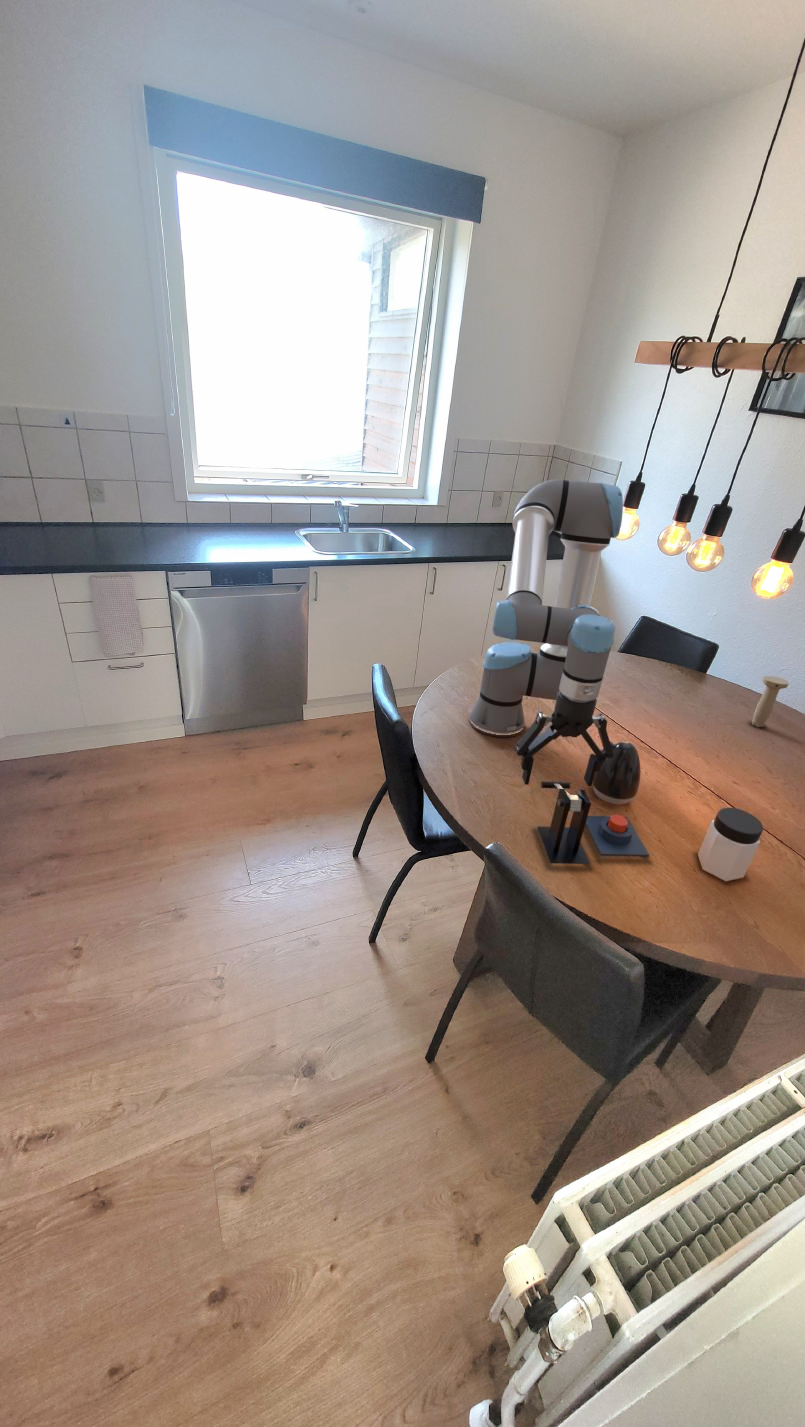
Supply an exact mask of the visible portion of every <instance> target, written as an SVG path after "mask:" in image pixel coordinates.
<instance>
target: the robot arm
mask: <svg viewBox="0 0 805 1427" xmlns="http://www.w3.org/2000/svg"><path fill="white" fill-rule="evenodd" d="M623 510H624V498H623V492H622V490H621V488H620V487H619V486H617V485H614V484H608V483H603V482H591V481H589V482H588V481H579V480H568V479H560V478H555V479H549V480H545V481H543V482H541V483H539V484H537V485H535V486H534V487H532V488H531V489H530V490H528V491H527V492H526V493H525V495H524V496H523V497H522V498H521V499H520V500H519V502H518V503H517V505H516V507H515V510H514V512H513V516H512V529H513V532H514V540H513V549H512V554H511V562H510V569H509V576H508V582H507V589H506V590H507V591H506V596H505V600H501V599H500V600H497V602H496V606H495V611H494V617H493V624H492V634H493V635H494V636H495V637H499V638H501V639H502V638H504V639H508V640H511V641H506V642H500V643H497V644H494V645H492V646H490V647H489V648H488V649H487V651H486V653H485V658H484V661H483V665H482V666H483V672H482V677H481V683H480V685H481V686H480V689H479V690H480V691H479V696H478V697H477V700H476V701H475V704H474V705H473V707H472V709H471V711H470V714H469V720H468V721H469V724H470V726H471V727H472V728H473V729H474V730H476V731H477V732H478V733H480V734H483V735H485V736H489V737H494V738H512V737H513V738H514V737H516V736H519V735H520V734H522V733H523V731H524V728H525V715H524V708H523V698H524V697H530V698H537V699H542V700H551V701H555V704H554V709H553V712H552V713H551V715H550V714H544V712H543V711H538V712H537V713H536V717H535V719H534V721H533V722H532V724H531V725H530V726H529V727H528V729H527V730H526V731H525V733H524V734H523V735H522V736H521V738H519V741H517V743H516V744H515V746H514V749H515V752H516V754H517V756H519V757H521V759H520V767H521V770H522V778H521V779H522V780H523V783H524V785H525V786H528V785H529V784H530V780H531V775H532V772H533V767H534V765H533V764H534V762H535V760H534V759H535V758H534V755H535V754H537V753H538V752H539V751H541V750H542V749H543V748H544V747H545V746H547V745H548V744H549V743H550V742H552V741H553V740H557V739H558V738H559V737H562V738H568V737H569V738H570V737H571V738H578V737H580V736H581V737H582V738H583V739H584V741H585V742H586V744H587V745H588V746H589V748H590V749H591V751H592V752H593V753H590V755H589V758H588V762H587V765H586V769H585V773H584V777H583V780H584V782H585V784H586V785H587V787H593V783H592V782H593V778H594V775H595V772H598V771H599V770H600V767H601V764H602V763H603V762H605V761H606V759H605V758H607V757H608V758H612V757H613V751H612V748H611V744H610V741H611V740H610V738H609V734H608V731H607V726H608V720H607V719H606V717H605V716H604V714H603V713H598V714H597V715H596V716H594V713H595V711H596V706H597V702H598V698H599V694H600V691H601V688H602V683H603V679H604V675H605V671H606V668H607V663H608V660H609V657H610V653H611V649H612V646H613V645H614V640H615V639H614V637H615V632H616V625H615V623H614V622H613V621H612V620H610V619H609V618H607V617H605V616H602V615H601V614H600V612H599V611H598V610H597V609H596V608H595V607H594V606H591V603H592V597H593V592H594V589H595V588H594V587H595V584H596V578H597V574H598V570H599V564H600V560H601V554H602V552H603V551H604V550H605V549H607V547H609V546H610V543H611V539H614V538H617V537H618V536H619V535H620V532H621V527H622V523H623V513H624V512H623ZM552 532H561V534H560V541H561V543H562V545H563V546H564V553H563V558H562V563H561V569H560V574H559V580H558V584H557V590H556V596H555V600H554V606H551V605H544V604H543V599H544V598H543V596H544V586H545V577H546V569H547V568H546V566H547V558H548V557H547V556H548V545H549V536H550V534H551V533H552ZM515 640H516V641H523V642H524V641H525V642H531V643H533V642H534V643H540V644H542V645H541V646H540V649H539V653H537V652H533V651H532V648H531V647H530V646H529V645H527V644H526V643H524V644H523V642H515ZM470 719H471V721H472V722H473V723H474V724H475V725H476V726H479V728H481V729H484V730H487V731H491V732H494V733H500V734H501V733H502V734H509V733H515V732H517V731H520V730H521V729H522V728H523V727H524V728H523V729H522V730H521V731H520V732H518V733H515V734H511V735H496V734H491V733H487V732H484V731H482V730H480V729H478V728H476V727H475V726H474V725H473V724H472V723H471V721H470ZM548 723H550V724H549V725H548ZM593 724H594V726H595V727H596V728H597V732H598V735H599V736H598V737H599V739H600V743H601V746H602V749H601V748H599V746H598V745H597V743H596V742H595V741H594V738H592V736H591V735H590V733H589V731H588V729H589V728H590V727H591V726H592V725H593ZM544 727H546V729H545V730H544V731H543V729H544ZM542 731H543V732H542Z"/></svg>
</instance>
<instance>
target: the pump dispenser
mask: <svg viewBox="0 0 805 1427" xmlns="http://www.w3.org/2000/svg"><path fill="white" fill-rule="evenodd" d="M609 741H610V744H611V748H612V751H613V757H612V758H608V757H607V758H605V759H606V761H605V762H603V763H602V764H601V767H600V770H599V771H598V772H595V775H594V778H593V782H592V788H593V792H594V794H595V796H596V797H597V798H599V799H600V800H601V801H603V802H605V803H608V804H612V805H616V806H617V805H619V806H621V805H622V806H623V805H626V804H628V803H630V802H631V801H632V800H633V799H634V797H636V796H637V794H638V792H639V788H640V783H641V761H640V755H639V752H638V750H637V748H636V746H635V745H634V744H632V743H631V742H629V741H619V742H617V743H613V742H612V741H611V740H609Z"/></svg>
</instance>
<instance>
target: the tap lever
mask: <svg viewBox="0 0 805 1427" xmlns="http://www.w3.org/2000/svg"><path fill="white" fill-rule="evenodd" d="M540 787H541V789H554V790H555V791H556V792H557V793H558V794H559V790H560V789H565V791H566V793H567V795H568V797H569V799H570V802H571V804H570V808H569V812H574V811H581V804H582V800H581V799H580V798H579V797H578V794H577V795H576V794H570V793H569V791H567V790H569V789H571V782H569V781H545V780H544V781H541V782H540Z"/></svg>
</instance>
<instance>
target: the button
mask: <svg viewBox="0 0 805 1427" xmlns="http://www.w3.org/2000/svg"><path fill="white" fill-rule="evenodd" d="M610 816H611V817H610V820H609V823H608V828H609V829H611V830H612V831H614V832H617V833H624V832H625V831H626V828H627V825H628V821H627V819H626V818H624V817H625V816H623V815H621V814H612V815H610Z"/></svg>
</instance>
